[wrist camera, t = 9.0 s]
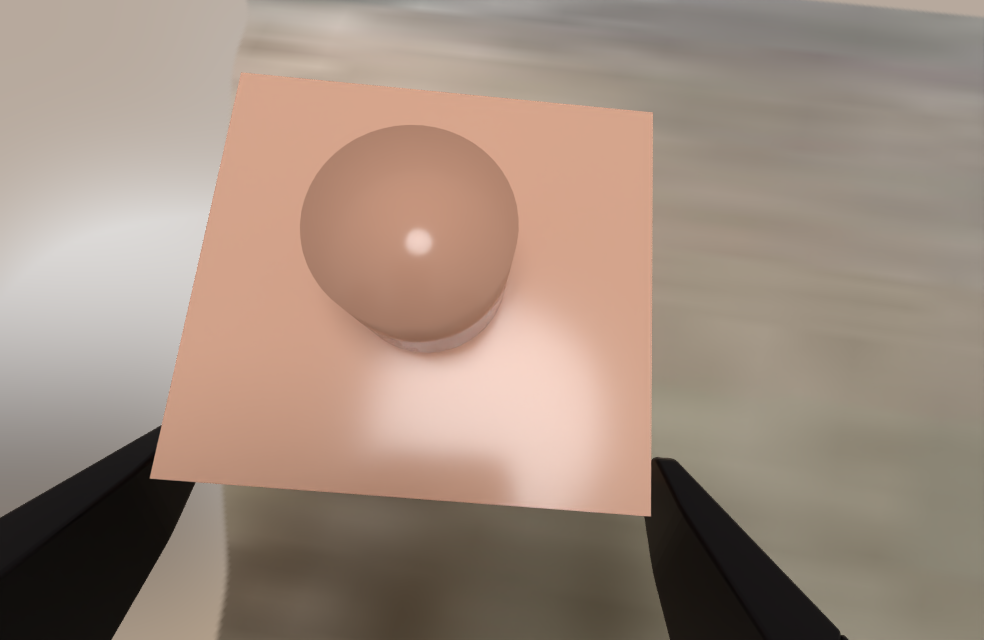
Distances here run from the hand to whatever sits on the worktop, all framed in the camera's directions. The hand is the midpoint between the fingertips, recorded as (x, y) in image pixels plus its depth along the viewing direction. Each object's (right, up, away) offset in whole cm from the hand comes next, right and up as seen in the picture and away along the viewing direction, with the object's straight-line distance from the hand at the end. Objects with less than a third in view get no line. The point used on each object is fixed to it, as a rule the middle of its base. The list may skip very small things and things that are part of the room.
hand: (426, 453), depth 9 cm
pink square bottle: (0, +1, +8) cm, 8 cm away
